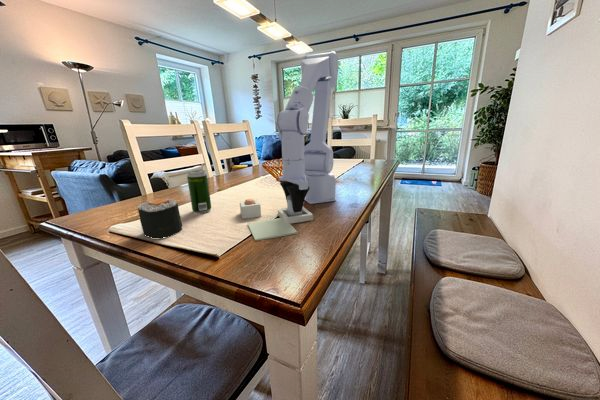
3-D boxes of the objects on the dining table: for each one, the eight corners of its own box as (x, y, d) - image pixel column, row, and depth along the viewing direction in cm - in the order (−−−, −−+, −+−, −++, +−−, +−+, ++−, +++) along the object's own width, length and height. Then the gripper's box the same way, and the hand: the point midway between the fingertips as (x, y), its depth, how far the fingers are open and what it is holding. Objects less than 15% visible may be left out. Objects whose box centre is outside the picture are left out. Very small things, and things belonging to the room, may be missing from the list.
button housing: (257, 210, 74) (256, 199, 73) (261, 216, 69) (260, 204, 68) (240, 212, 72) (239, 201, 71) (243, 218, 68) (242, 206, 67)
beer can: (214, 211, 74) (209, 171, 70) (196, 215, 71) (189, 174, 67) (208, 206, 78) (202, 169, 74) (190, 210, 75) (184, 171, 71)
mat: (284, 218, 67) (284, 217, 67) (297, 233, 58) (297, 231, 58) (247, 224, 64) (247, 223, 64) (255, 241, 55) (255, 239, 55)
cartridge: (299, 213, 71) (298, 193, 69) (304, 218, 67) (304, 197, 65) (285, 215, 69) (285, 195, 68) (290, 220, 66) (289, 199, 64)
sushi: (167, 222, 66) (162, 194, 64) (188, 228, 62) (183, 198, 60) (136, 234, 59) (129, 203, 57) (158, 241, 56) (151, 208, 53)
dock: (302, 210, 73) (302, 206, 72) (313, 219, 66) (313, 214, 66) (277, 214, 70) (277, 209, 70) (286, 224, 64) (285, 218, 63)
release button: (253, 206, 72) (252, 198, 71) (255, 209, 70) (254, 200, 69) (245, 207, 71) (244, 199, 70) (246, 210, 69) (245, 202, 68)
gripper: (271, 156, 68) (273, 203, 73) (287, 164, 56) (289, 220, 60) (295, 155, 71) (296, 200, 75) (315, 162, 58) (315, 216, 62)
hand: (294, 208), depth 67 cm, fingers closed on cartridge, 4 cm apart
